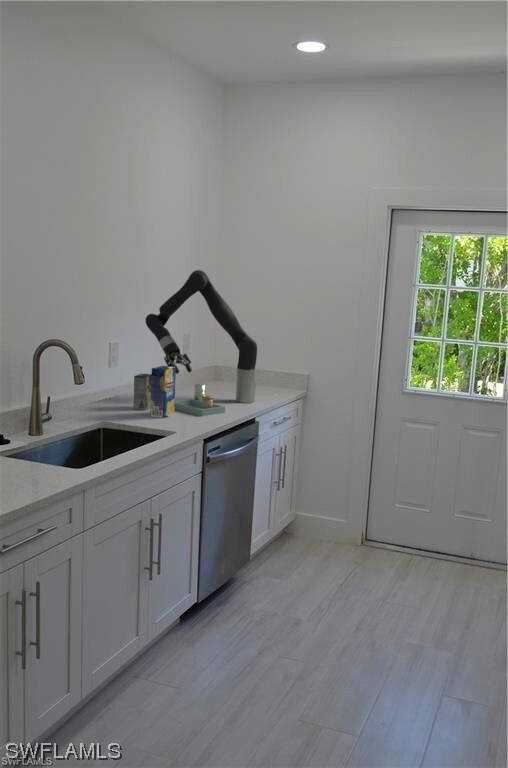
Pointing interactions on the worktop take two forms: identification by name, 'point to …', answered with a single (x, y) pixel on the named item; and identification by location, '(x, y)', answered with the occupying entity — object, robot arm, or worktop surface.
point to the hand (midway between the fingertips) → (184, 372)
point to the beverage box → (162, 391)
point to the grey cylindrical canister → (199, 391)
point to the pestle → (207, 402)
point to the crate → (197, 407)
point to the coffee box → (142, 391)
